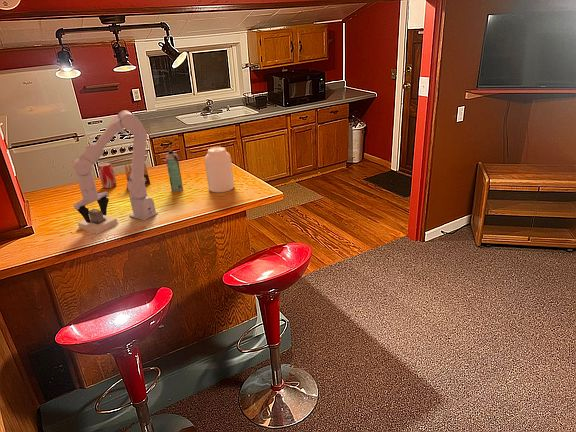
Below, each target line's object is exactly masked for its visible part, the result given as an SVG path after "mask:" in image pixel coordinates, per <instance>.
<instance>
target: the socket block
mask: <svg viewBox="0 0 576 432" xmlns="http://www.w3.org/2000/svg"><path fill="white" fill-rule="evenodd" d="M103 218H104V222H102V223H100V224H95V223H91V222H90V223H87V222H86V221H85V219H84V218H83V219H82V220H79V221H78V222H77V225H78V228H79V229H82V230H84V231H87V232H90V233H93V234H96V235H98V234H100V233H103V232H105V231H106V230H109V229H110V228H112V227H114V226H116V225H118V224H119V223H118V222H119V221H118V218H116V217H113V216H110V215H108V214H107V215H106V216H105V215H103ZM90 221H91V219H90Z"/></svg>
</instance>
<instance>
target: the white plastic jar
mask: <svg viewBox="0 0 576 432" xmlns="http://www.w3.org/2000/svg"><path fill="white" fill-rule="evenodd" d="M204 165H205V172H206V179H207V180H206V181H207V186H208V190H209V191H210V192H212V193H225V192H228V191H232V190H233V188H234V187H235V181H234V171H233V163H232V157H231V154H230V153H229V152H228V151H227V150H226V147H222V146H214V147H210V148H208V150H207V154H206V155H205V156H204Z"/></svg>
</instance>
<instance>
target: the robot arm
mask: <svg viewBox="0 0 576 432" xmlns="http://www.w3.org/2000/svg"><path fill="white" fill-rule="evenodd" d="M125 130H127V131H128V132H130V133H131V134H132V135H133V139H132V140H133V141H132V158H131V174H130V173H129V175H130V178H129V181H127V182H126V188H127V190H128V191H129V192H130V193H129V201H130V205H131V210H132V213H131V214H129V217H131V218H134V219H138V220H141V221H146V220H147V219H149V218H151V217H153V216H155V215H157V214H159V212H158V211H156V206H155V202H154V200H153V198H152V197H149V195H148V193H147V187H146V185H145V180H146V179H144V166H145V165H146V149H147V138H148V136H147V135H148V132H147V131H146V129H145V126H144V125H143V123H142V121H141V120H140V119H139V118H138V117H137V116H136V115H134V114H133V113H132V112H131V111H129V110H126V109H125V110H121V111H120V112H118V114H117V115H116V116H115V117H113V119H112V120H111V121H110V122H109V124H108V126H107V127H106V128H105V130H104V131H103V132H102V134H101V135H100V136H99V138H98V139H97V140H96V142H91V143H90V144H87V145H85V150H84V151H82V153H81V155H80V154H79V155H78V157H77V159H75V160H74V162H73V165H72V167H73V169H74V170H75V173H76V177H77V183H78V186H79V189H80V193H81V196H82V199H80V200H79V201H78V202H76V203H74V204H73V208H74V210H77V212H78V213H79V214H80V215H81V216H82V218H83V220H84V219H85V221H86V222H87V223H90V222H91V221H90V215H89V207H87V206H88V205H91V204H92V203H96V202H97V204H98V206H99V210H100V211H102V214H103V215H105V216H106V215H107V216H108V214H107V209H108V205H109V201H110V200H109V193H108V191H103V192H99V193H98V190H97V186H96V183H95V180H94V175H93V173H92V170H93V168H92V167H93V166H94V165H95V164H96V163H97V161H98V160H99V159H100V158H101V157H102V155H103V154H105V153H104V152H105V151H104V148H105V147H106V145H107V144H108V143H109V142H110V141H111V140H112V139H113V138H114V137H115V135H116V134H118V133H123V132H125Z"/></svg>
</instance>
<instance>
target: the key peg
mask: <svg viewBox="0 0 576 432" xmlns="http://www.w3.org/2000/svg"><path fill="white" fill-rule="evenodd" d="M89 217H90V219H91V223H95V224H100V223H102V222H104V218H103V214H102V211H101V210H100V209H96V208H92V209H90V210H89Z"/></svg>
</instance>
